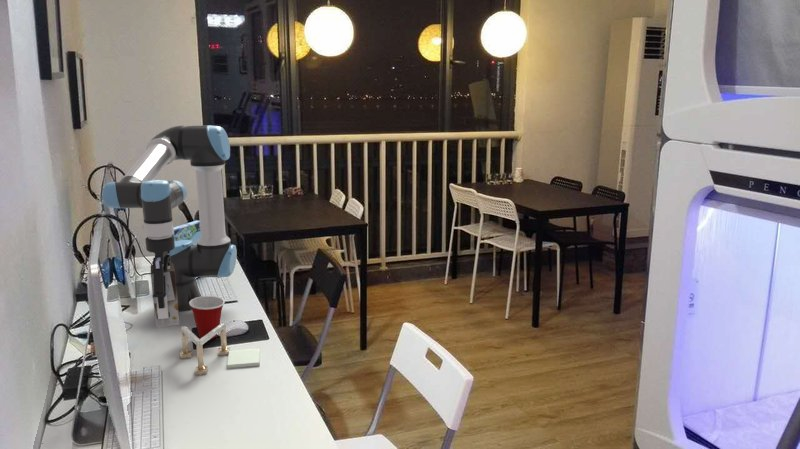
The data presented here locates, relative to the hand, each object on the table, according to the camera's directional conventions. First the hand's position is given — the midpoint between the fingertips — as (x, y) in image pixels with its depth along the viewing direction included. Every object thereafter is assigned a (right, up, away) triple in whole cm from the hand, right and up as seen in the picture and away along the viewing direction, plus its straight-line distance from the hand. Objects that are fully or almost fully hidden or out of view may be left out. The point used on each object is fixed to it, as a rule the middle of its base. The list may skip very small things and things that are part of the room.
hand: (166, 311), depth 182 cm
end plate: (+21, -15, +4) cm, 26 cm away
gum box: (-19, +2, +79) cm, 81 cm away
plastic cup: (+6, -11, +21) cm, 25 cm away
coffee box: (0, -3, +1) cm, 3 cm away
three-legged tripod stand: (+10, -15, +3) cm, 18 cm away
